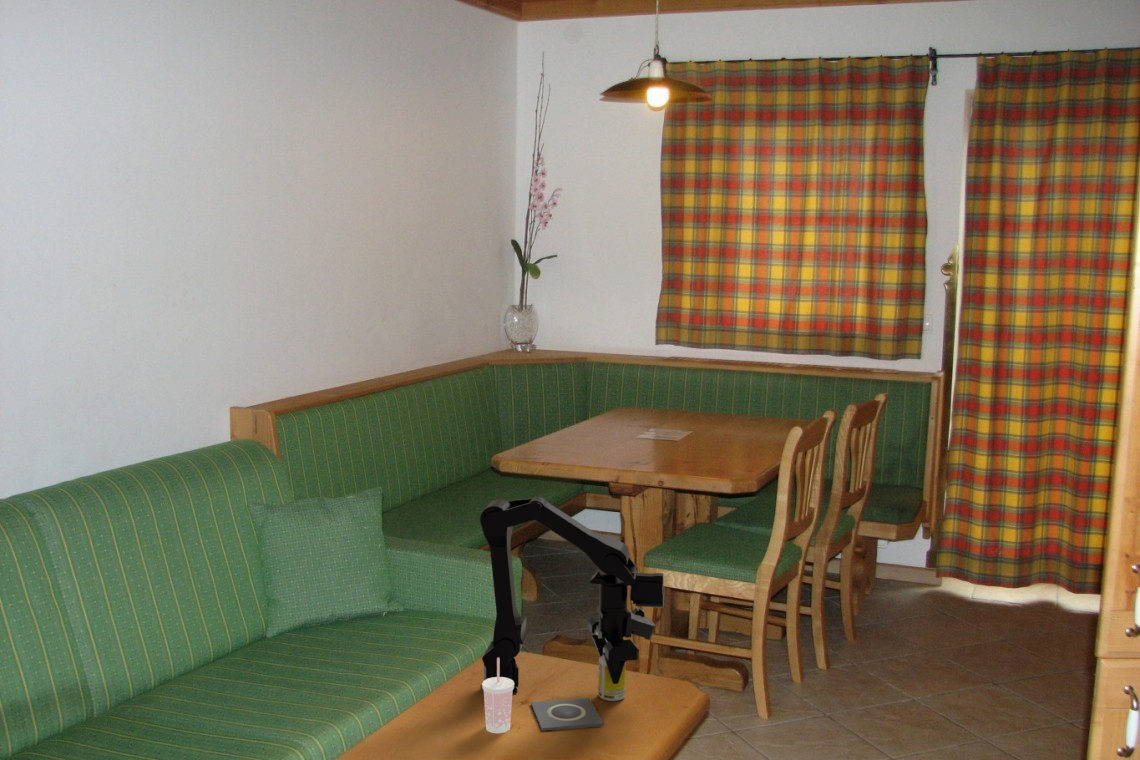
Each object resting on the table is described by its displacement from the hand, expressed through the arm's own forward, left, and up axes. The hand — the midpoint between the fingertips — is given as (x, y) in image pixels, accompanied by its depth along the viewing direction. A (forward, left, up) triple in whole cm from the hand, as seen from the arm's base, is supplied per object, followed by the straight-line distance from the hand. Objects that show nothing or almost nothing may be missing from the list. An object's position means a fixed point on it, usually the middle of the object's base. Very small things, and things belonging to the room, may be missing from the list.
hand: (612, 677), depth 225 cm
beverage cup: (-25, -10, -4) cm, 27 cm away
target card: (-11, -7, -4) cm, 14 cm away
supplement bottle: (0, 0, -4) cm, 4 cm away
